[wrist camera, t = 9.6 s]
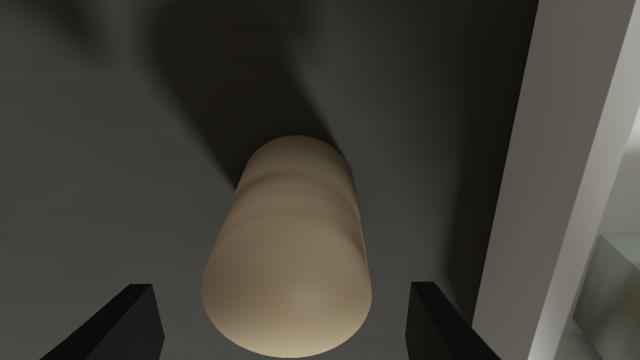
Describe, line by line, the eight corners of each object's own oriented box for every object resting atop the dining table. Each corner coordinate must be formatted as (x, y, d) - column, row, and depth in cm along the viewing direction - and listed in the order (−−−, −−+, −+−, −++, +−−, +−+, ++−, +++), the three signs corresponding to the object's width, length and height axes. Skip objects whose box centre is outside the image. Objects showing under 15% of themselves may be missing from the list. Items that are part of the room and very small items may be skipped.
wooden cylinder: (352, 234, 20) (368, 357, 13) (246, 235, 20) (212, 358, 13) (355, 134, 17) (376, 224, 11) (236, 135, 17) (188, 226, 11)
